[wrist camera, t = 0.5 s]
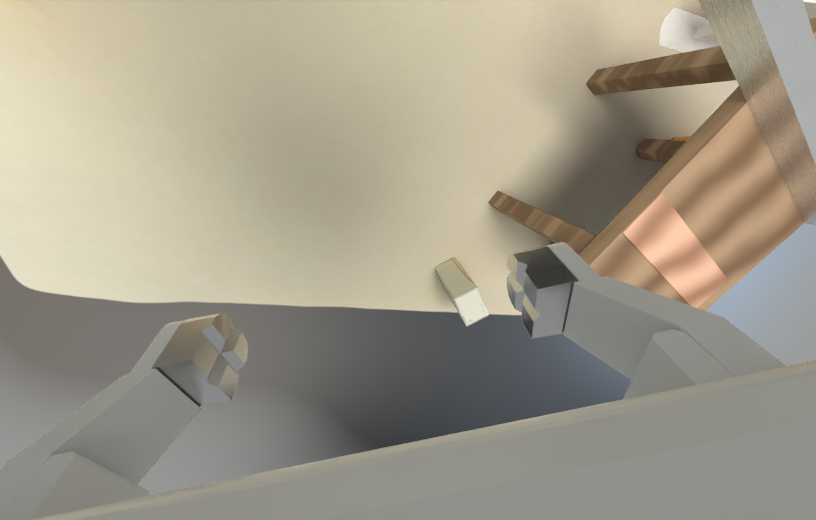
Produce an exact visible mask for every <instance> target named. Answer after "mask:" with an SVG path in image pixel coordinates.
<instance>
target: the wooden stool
mask: <svg viewBox="0 0 816 520" xmlns="http://www.w3.org/2000/svg"><path fill="white" fill-rule="evenodd" d="M809 22H810V25H811V28H812V31H813V34H814V38H815V41H816V18H812V19H809ZM731 80H736V78H735V76H734V74H733V72H732V70H731V67H730V65H729V63H728V61H727V59H726V57H725V55H724V53H723V51H722V48H721V46H715V47H710V48H705V49H700V50H695V51H690V52H685V53H680V54H675V55H670V56H665V57H660V58H655V59H650V60H645V61H640V62H635V63H630V64H625V65H620V66H615V67H609V68H604V69H599V70H597V71H596V72H595V73H594V75H593V76H592V77H591V78H590V79H589V81H588V82H587V83H586V84H587V86H588V87H589V88H590V90H591V91H592V92H593V94H594V95H595V94H605V93H615V92H624V91H634V90H644V89H654V88H663V87H673V86H683V85H693V84H702V83H712V82H722V81H731ZM636 151H637V153H638V154H639V155H640V157H641V158H642V159H647V160H655V161H663V162H667V163H666V164H665V165H664V166H663V167H662V168H661V169H660V170H659V171H658V172H657V173H656V174H655V175H654V176H653V177H652V178H651V180H650V181H649V182H648V183H647V184H646V185H645V186H644V187H643V188H642V189H641V190H640V191H639V192H638V193H637V194H636V195H635V196H634V197H633V199H632V200H631V201H630V202H629V203H628V204H627V205H626V206H625V207H624V208H623V209H622V210H621V211H620V212H619V213H618V214H617V215H616V216H615V218H614V219H613V220H612V221H611V222H610V223H609V224H608V225H607V226H606V227H605V228H604V229H603V230H602V231H601V232H600V233H599V234H598V235H597V236H596V235H594V234H592V233H590V232H587V231H585V230H583V229H581V228H579V227H576V226H574V225H572V224H570V223H567V222H565V221H563V220H561V219H559V218H556V217H554V216H552V215H550V214H548V213H545V212H543V211H541V210H539V209H537V208H534V207H532V206H530V205H528V204H525V203H523V202H521V201H519V200H517V199H514V198H512V197H510V196H508V195H506V194H503V193H501V192H499V191H497V193H496V194H495V195H494V196H493V197H492V199H491V200H490V201H489V203H490V204H491V205H492V206H493V207H495V208H496V209H497V210H498V211H500V212H502V213H504V214H505V215H507V216H509V217H511V218H512V219H514V220H516V221H517V222H519V223H521V224H523V225H524V226H526V227H528V228H530V229H531V230H533V231H535V232H537V233H538V234H540V235H542V236H544V237H545V238H547V239H549V240H551V241H552V243H551V244H555V243H560V242H564V243H567V244H568V245H569V246H570V247H571V248H572V249H573V250H574V251H575V252H576V253H577V254H578V255H579V256H580V257H581V258H582V259H583V260H584V261H585V262H586V263H587V264H588V265H589V266H590V267H591V268H592V269H593V270H594V271H595V272H596V273H597V274H598V275H599V276H600V277H603V276H608V277H611V278H614V279H617V280H620V281H622V282H625V283H628V284H631V285H634V286H636V287H639V288H642V289H645V290H648V291H651V292H653V293H656V294H659V295H662V296H665V297H667V298H670V299H673V300H676V301H679V302H681V303H684V304H687V305H690V306H693V307H695V308H698V309H701V310H704V311H706V310H707V309H708V308H709V307H710V306H711V305H712V304H713V303H715V302H716V301H717V300H718V299H719V298H720V297H721V296H722V295H723V294H725V293H726V292H727V291H728V290H729V289H730V288H731V287H732V286H734V285H735V284H736V283H737V282H738V281H739V280H740V279H741V278H743V277H744V276H745V275H746V274H747V273H748V272H749V271H751V270H752V268H754V267H755V266H756V265H757V264H758V263H760V262H761V261H762V260H763V259H764V258H765V257H766V256H767V255H769V254H770V253H771V252H772V251H773V250H774V249H775V248H776V247H777V246H779V245H780V244H781V243H782V242H783V241H784V240H785V239H787V238H788V237H789V236H790V235H791V234H792V233H793V232H794V231H795V230H797V229H798V228H799V227H800V226H801V225H802V224H803V223H804V222H803V220H802V217H801V215H800V213H799V211H798V209H797V207H796V205H795V203H794V201H793V198H792V196H791V194H790V192H789V190H788V188H787V186H786V184H785V181H784V179H783V177H782V175H781V173H780V171H779V169H778V167H777V165H776V162H775V160H774V158H773V156H772V154H771V152H770V150H769V148H768V146H767V143H766V141H765V139H764V137H763V135H762V133H761V131H760V129H759V127H758V124H757V122H756V120H755V118H754V116H753V114H752V112H751V110H750V108H749V105H748V103H747V101H746V99H745V97H744V95H743V93H742V91H741V89H740V86H739V87H738V88H737V89H736V90H735V91H734V92H733V93H732V94H731V95H730V96H729V97H728V98H727V99H726V100H725V101H724V102H723V104H722V105H721V106H720V107H719V108H718V109H717V110H716V111H715V112H714V113H713V114H712V115H711V116H710V117H709V118H708V119H707V120H706V121H705V123H704V124H703V125H702V126H701V127H700V128H699V129H698V130H697V131H696V132H695V133H694V134H693V135H692V136H691V137H690V138H689V139H688V140H687V141H674V140H657V139H645V141H644V142H643V143H642V144H641V145H640V146H639V147H638V148H637V149H636ZM551 244H550V245H551Z"/></svg>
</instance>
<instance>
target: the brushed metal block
mask: <svg viewBox="0 0 816 520" xmlns="http://www.w3.org/2000/svg"><path fill="white" fill-rule="evenodd" d="M699 2H700V4H701V6H702V8H703V10H704V12H705V15H706V17H707V19H708V21H709V23H710V25H711V27H712V29H713V31H714V34H715V36H716V38H717V40H718V42H719V44H720V46H721V48H722V51H723V53H724V55H725V57H726V59H727V61H728V63H729V65H730V67H731V70H732V72H733V74H734V76H735V78H736V80H737V82H738V84H739V86H740V89H741V91H742V93H743V95H744V97H745V99H746V101H747V103H748V105H749V108H750V110H751V112H752V114H753V116H754V118H755V120H756V122H757V124H758V127H759V129H760V131H761V133H762V135H763V137H764V139H765V141H766V143H767V146H768V148H769V150H770V152H771V154H772V156H773V158H774V160H775V162H776V165H777V167H778V169H779V171H780V173H781V175H782V177H783V179H784V181H785V184H786V186H787V188H788V190H789V192H790V194H791V196H792V198H793V201H794V203H795V205H796V207H797V209H798V211H799V213H800V215H801V217H802V220H803V222H804V223H807V224H812V225H816V41H815V38H814V34H813V31H812V28H811V25H810V22H809V18H808V15H807V12H806V9H805V6H804V2H803V0H699Z"/></svg>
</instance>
